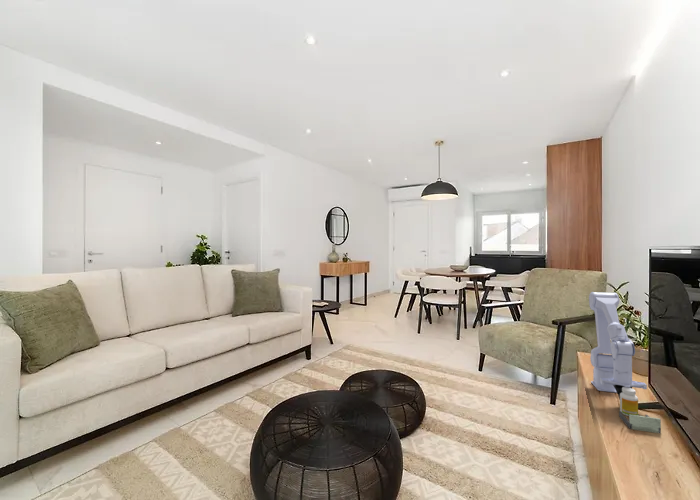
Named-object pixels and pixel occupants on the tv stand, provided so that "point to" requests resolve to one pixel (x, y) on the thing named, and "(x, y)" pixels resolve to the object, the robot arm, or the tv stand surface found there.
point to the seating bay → (642, 423)
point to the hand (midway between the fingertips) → (623, 403)
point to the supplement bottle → (628, 401)
